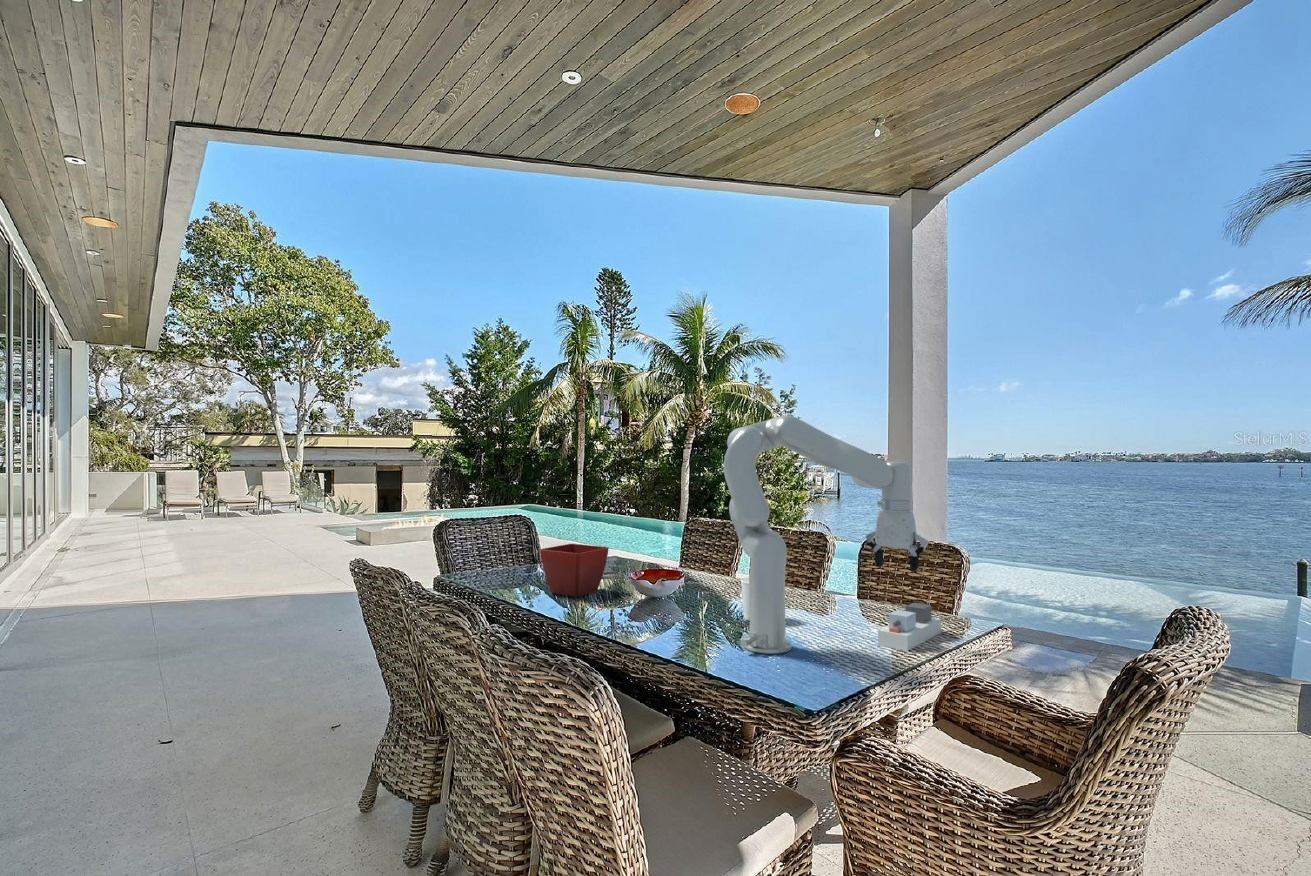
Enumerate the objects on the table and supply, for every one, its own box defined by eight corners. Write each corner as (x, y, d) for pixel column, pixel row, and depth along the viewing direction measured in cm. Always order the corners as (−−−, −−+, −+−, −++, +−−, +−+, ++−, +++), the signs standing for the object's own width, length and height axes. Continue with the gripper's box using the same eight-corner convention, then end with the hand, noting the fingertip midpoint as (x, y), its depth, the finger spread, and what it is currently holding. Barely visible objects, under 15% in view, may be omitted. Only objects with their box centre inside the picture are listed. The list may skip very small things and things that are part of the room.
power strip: (907, 651, 173) (907, 632, 173) (878, 645, 178) (878, 627, 178) (941, 632, 190) (940, 615, 190) (913, 627, 196) (913, 611, 196)
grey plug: (904, 648, 175) (904, 617, 175) (886, 645, 178) (886, 614, 178) (916, 642, 180) (915, 612, 180) (898, 639, 184) (897, 609, 184)
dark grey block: (923, 638, 185) (923, 608, 185) (906, 634, 188) (905, 606, 188) (933, 632, 190) (933, 604, 190) (916, 629, 194) (916, 601, 194)
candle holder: (777, 616, 210) (776, 579, 210) (765, 623, 201) (765, 584, 201) (748, 613, 214) (748, 576, 215) (736, 619, 206) (736, 581, 206)
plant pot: (610, 590, 251) (610, 546, 251) (578, 600, 235) (578, 553, 235) (571, 585, 261) (571, 543, 261) (538, 594, 245) (538, 549, 245)
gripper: (860, 505, 184) (860, 566, 184) (922, 508, 172) (922, 574, 172) (872, 503, 190) (872, 563, 189) (933, 507, 178) (933, 570, 177)
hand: (896, 568), depth 181 cm, fingers open, 9 cm apart
